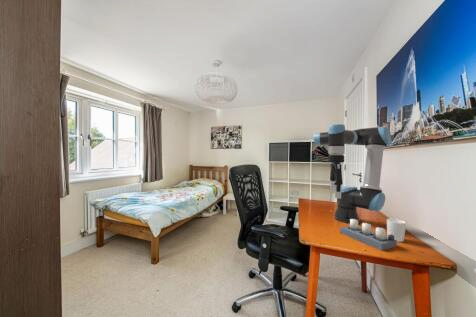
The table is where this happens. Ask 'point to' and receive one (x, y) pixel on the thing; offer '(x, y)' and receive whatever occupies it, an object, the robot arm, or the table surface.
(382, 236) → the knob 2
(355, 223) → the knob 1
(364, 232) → the white oval solid
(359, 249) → the table surface
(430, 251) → the table surface
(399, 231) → the white cup
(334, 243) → the table surface
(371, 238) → the grey egg holder
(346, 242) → the table surface
